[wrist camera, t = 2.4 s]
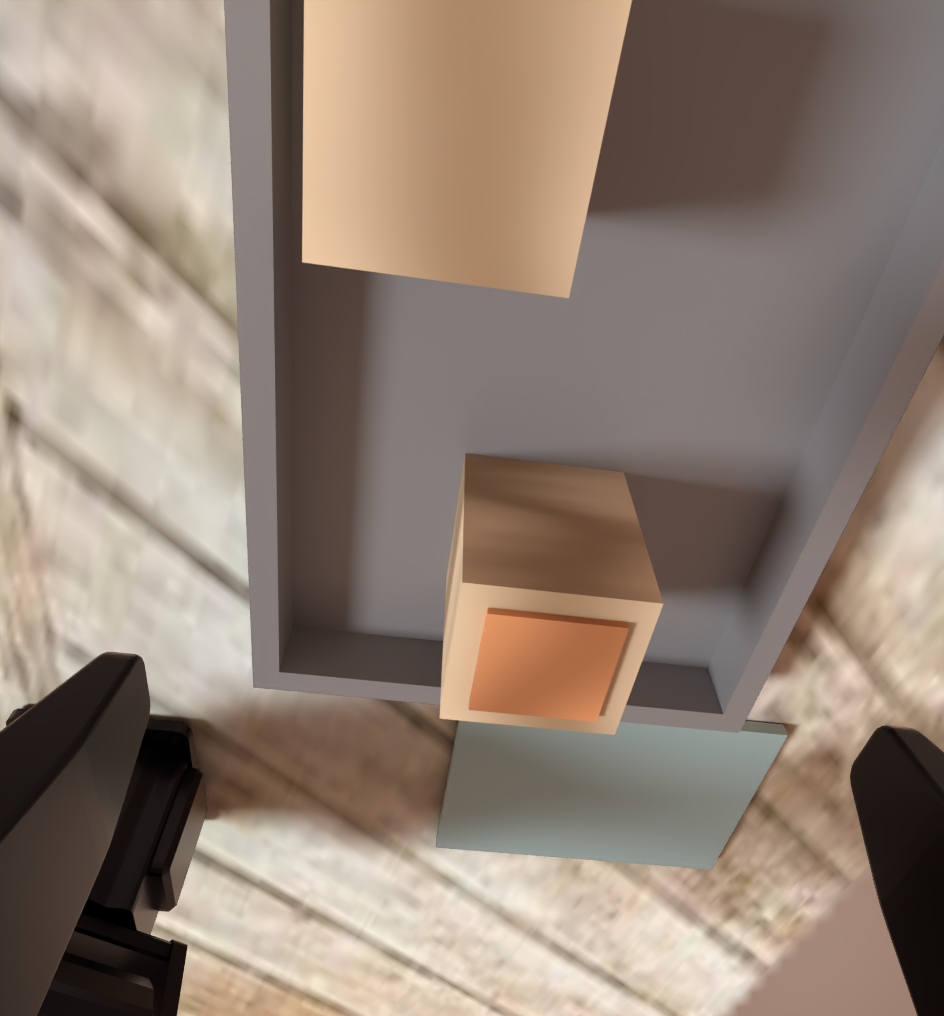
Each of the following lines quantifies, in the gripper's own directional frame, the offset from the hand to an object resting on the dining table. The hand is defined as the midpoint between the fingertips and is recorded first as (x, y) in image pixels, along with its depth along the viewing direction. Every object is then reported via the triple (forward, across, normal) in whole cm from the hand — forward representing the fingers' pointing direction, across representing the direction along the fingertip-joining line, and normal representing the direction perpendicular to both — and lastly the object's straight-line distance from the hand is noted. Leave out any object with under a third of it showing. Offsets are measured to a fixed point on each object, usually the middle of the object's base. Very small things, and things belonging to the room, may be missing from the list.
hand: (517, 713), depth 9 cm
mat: (+12, -7, +18) cm, 23 cm away
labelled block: (+12, -2, +6) cm, 13 cm away
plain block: (+12, +2, -5) cm, 13 cm away
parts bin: (+12, -2, +1) cm, 13 cm away
